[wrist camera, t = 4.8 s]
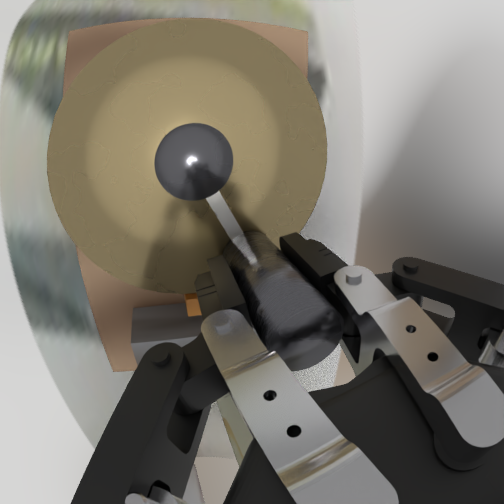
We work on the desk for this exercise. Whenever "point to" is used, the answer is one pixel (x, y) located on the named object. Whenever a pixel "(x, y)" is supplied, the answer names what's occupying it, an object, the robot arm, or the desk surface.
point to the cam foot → (197, 171)
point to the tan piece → (114, 290)
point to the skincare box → (234, 427)
